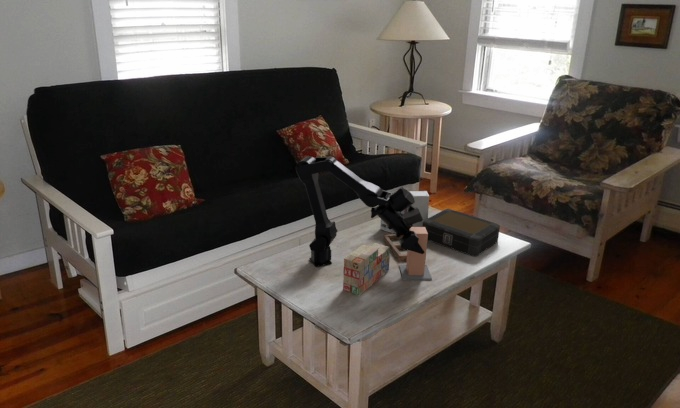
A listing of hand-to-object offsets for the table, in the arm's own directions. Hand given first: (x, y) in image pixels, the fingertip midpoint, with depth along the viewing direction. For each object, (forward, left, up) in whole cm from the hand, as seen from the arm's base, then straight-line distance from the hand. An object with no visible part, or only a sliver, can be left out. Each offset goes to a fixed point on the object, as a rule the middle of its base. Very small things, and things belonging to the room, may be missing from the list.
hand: (421, 247), depth 196 cm
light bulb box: (+11, +38, -10) cm, 40 cm away
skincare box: (+21, +36, -10) cm, 42 cm away
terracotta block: (-1, +1, -10) cm, 10 cm away
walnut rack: (+4, +19, -10) cm, 22 cm away
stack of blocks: (-20, +3, -11) cm, 22 cm away
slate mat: (-1, +1, -10) cm, 10 cm away
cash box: (+30, +18, -11) cm, 36 cm away
